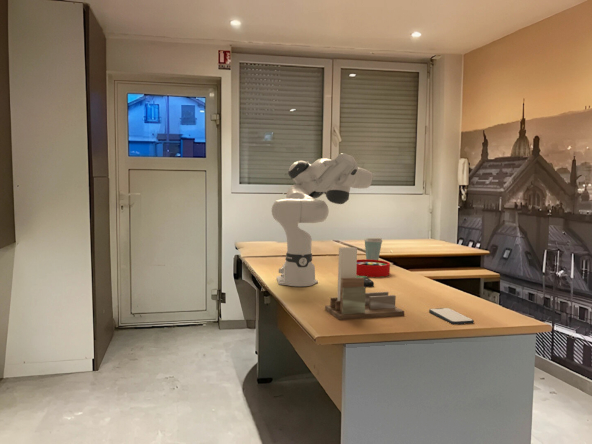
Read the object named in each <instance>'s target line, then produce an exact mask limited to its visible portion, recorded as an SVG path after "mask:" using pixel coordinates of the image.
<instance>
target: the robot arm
mask: <svg viewBox="0 0 592 444" xmlns="http://www.w3.org/2000/svg"><path fill="white" fill-rule="evenodd" d="M287 174H288V176H289V177H290V179H291V180H293V181H294V183H295V184H293V185H290V187H288V189H287V191H286V197H285V198H281V199H280V198H279V199H276V200H275V201H274V203H273V204H272V205H271V215H272V217H273V219H274V220H275V221H276V222H277V223H279V225H280V226H281V227H282V228H283V230H284V232H285V235H286V242H287V243H286V244H287V245H286V247H287V248H286V249H287V250H286V253H285V261H284V263H283V264H282V266H281V268H278V274H280V275H277V276H276V280H277V283H278V285H280V286H281V285H283V286H284V285H285V286H289V287H290V286H291V287H309V286H313V285H314V284H315V285H316V284H318V283H319V280H317V279H316V267H315V266H316V265H315V264H314V263H313V262H312V261H313V253H312V243H313V242H312V236H311V235H310V233H308V232H307V231H305V230H304V229H301V228H300V226H299V224H318V223H322V222H325V221H326V220H327V218H328V216H329V207H328V204H327V203H326V201H325V200H322V199H321V200H320V199H318V198H320V197H321V196H322V195H325V197H326V199H327V200H328V201H329V202H330V203H332V204H336V205H344V204H345V203H346V202H348V201H349V199H350V190H351V188H352V189H367V188H369V187H370V186H371V185H372V183H373V173H372V172H371V171H370V170H368V169H365V168H362V167H359V165H358V162H357V161H356V159H355V157H354V156H353V155H349V154H348V153H344V152H342V153H340V154H338V155H337V156H336V157H335V158H334V159H330V158H326V157H322V158H318V159H317V160H315V161H314V162H313V163H309V160H306V161H305V160H297V161H295V162H293V163H292V164H291V165H290V166H289V169H288V172H287Z"/></svg>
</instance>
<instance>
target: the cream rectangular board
mask: <svg viewBox="0 0 592 444" xmlns="http://www.w3.org/2000/svg"><path fill="white" fill-rule="evenodd" d="M357 260H358V248H357V247H355V246H354V247H353V246H352V247H351V246H349V247H338V263H337V264H338V265H337V266H338V267H337V268H338V269H337V271H338V272H337V296H336V297H337V301H341V278H356V276H357V275H356V269H357Z"/></svg>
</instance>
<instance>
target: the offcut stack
mask: <svg viewBox="0 0 592 444" xmlns="http://www.w3.org/2000/svg"><path fill="white" fill-rule="evenodd" d="M366 289H367V287H364V278H363V277H358V278H341V302H340V312H341V313H342V314H358V313H365V293H367V292H366V291H367V290H366Z"/></svg>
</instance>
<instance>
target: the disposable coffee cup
mask: <svg viewBox="0 0 592 444" xmlns="http://www.w3.org/2000/svg"><path fill="white" fill-rule="evenodd" d="M363 241H364V249H365V259H368V260H379V259H380V253H381V248H382V243H383V240H382V238H381V237H365V239H364V240H363Z"/></svg>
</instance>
